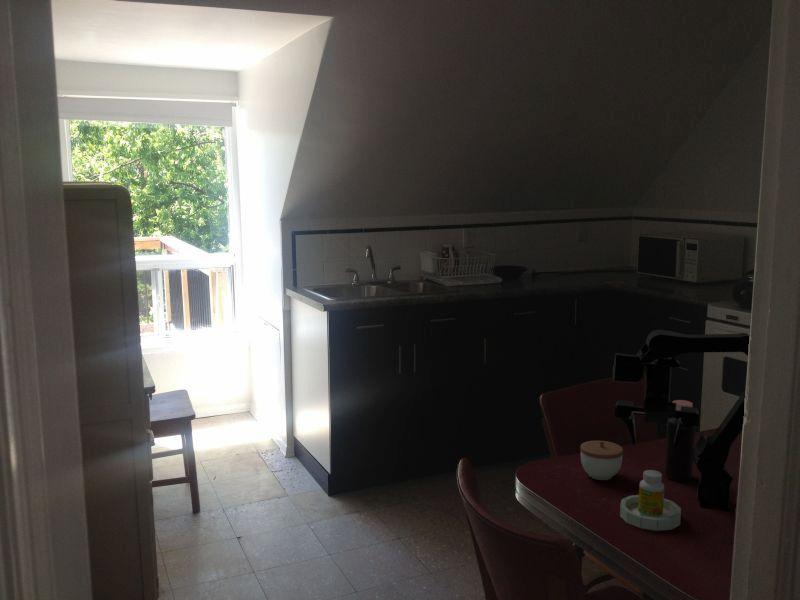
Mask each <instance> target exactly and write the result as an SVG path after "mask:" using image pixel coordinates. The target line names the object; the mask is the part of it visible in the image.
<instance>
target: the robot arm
mask: <svg viewBox="0 0 800 600" xmlns="http://www.w3.org/2000/svg"><path fill="white" fill-rule="evenodd" d="M749 335H750V334H749V333H747V332H741V333H723V334H722V333H721V334H720V333H715V334H712V333H711V334H708V333H705V334H703V333H702V334H687V333H679V332H676V331H672V330H665V329H654V330H652V331H651V332H650V333H649V334H647V337H646V341H645V343H644V345H642V347H641V348H640V349H639V350H637V352H636V354H627V353H622V352H620V353H618V352H616V353H615V355H614V361H613V364H612V379H613V380H612V382H615V383H632V384H638V383H639V382H641V381H642V380H643V379H644V374H645V380H644V381H645V383H644V398H643V406H640V405H639V406H638V405H634V401H631V400H622V399H621V400H620V399H619V400H617V401H616V402H615V405H614V417H615V418H619V420H620V421H621V422H624V423H625V424H626V426H627V429H628V432H629V434H630V435H629V436H630V439H631V442H632V444H633V446H635V445H636V421H635V415H639V416H640V415H641V416H644V421H645V422H646V423H658V424H660V425H661V424H662V425H665V424H667V421H668V419H669V418H670V419H671V418H679V420H678V425H677V430H676V435H675V440H674V450H676V448H677V445H678V443H679V441H680V439H681V436H682V435H683V433H684V431H685V430H686V429H687V428H692V425H695V427H696V426H699V423H700V422H699V420H700V413H699V410H698V408H697V407H684V406H681V411H680V410H676V403H672V402H673V401H672V402H670V401H671V386H672V385H671V383H672V368H681V367H682V365H681V363H680V361H679V360H677V359H676V357H679V356H682V355H685V354H691V353H699V354H700V353H744V354H745V355H746V356H747V357H748V344H749ZM644 368H645V372H644ZM744 398H745V389H744V390H743V391H742V393H741V395H740V396H739V397H738V399H737V400H736V402H735V403H734V404H733V406H732V408H731V409H730V410H729V412H728V413H727V415H725V417H724V419H723V420H722V421H721V423H720V425H719V426H718V427H717V429H716V430H715V431H714V433H712V434H711V435H709V436H708V437H707V436H706V435H704V434H701V435H700V437H699V439H698V441H697V442H696V443H695V444H694V446H693V449H694V451H693V463H694V464H695V465H696V468H697V470H698V471H699V473H700V479H698V481H697V492H696V493H697V494H696V499H697V501H698V503H699V507H705V508H712V509H720V510H725V511H726V510H730V502H729V501H730V491H731V489H730V488H731V484H732V482H733V480H734V478H733V476H732V475H731V473H730V471H729V469H728V467H727V466H726V464H727V463H726V462H727V461H728V459H729V454H730V451H731V447H732V445H733V444H734V443H735V441H736V439H737V438H738V437H739V435H740V434H741V433H742V431H743V430H742V424H743V416H744Z"/></svg>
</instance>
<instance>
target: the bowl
mask: <svg viewBox="0 0 800 600" xmlns="http://www.w3.org/2000/svg"><path fill="white" fill-rule="evenodd" d="M638 504H639V494H635V495H628V496H626V497H624V498H622V499H621V501H620V506H619V516H620V518H621V519H622V520H623V521H624V522H625V523H626V524H629V525H632V526H634V527H636V528H639V529H641V530H642V529H643V530H649V531H655V532H656V531H657V532H659V531H671V530H674V529H676V528H677V527H679V526H681V521H682V520H681V516H682V508H681V506H679V505H678V504H676V503H675V502H674V501H673V500H669V499H667V498H664V502H663V515H662V516H661V517H659V518H653V517H646V516H642V515H641V514H640V513H639V512H638Z"/></svg>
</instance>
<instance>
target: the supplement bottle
mask: <svg viewBox="0 0 800 600" xmlns="http://www.w3.org/2000/svg"><path fill="white" fill-rule="evenodd" d="M642 478H643V479H642V480H640V481H639V489H638V495H639V504H638V512H639V513H640V514H641V515H642V516H646V517H653V518H659V517H661V516H662V515H663V502H664V499H665V497H664V496H665V484H664V483H663V482H662V480H663V474H662V473H661V472H660V471H658V470H654V469H646V470H644V471H643V474H642Z"/></svg>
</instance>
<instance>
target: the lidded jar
mask: <svg viewBox="0 0 800 600" xmlns="http://www.w3.org/2000/svg"><path fill="white" fill-rule="evenodd" d="M579 448H580V461H581V465H582V467H583V470H584V471H585V472H586V473H587V474H588V477H590V478H591V477H592V478H591V479H593V478H594V480H597V481H609V479H610V480H612V479H613V478H612V477H615V476H616V474H618V473H619V471H620V469H621V467H622V463H623V455H624V448H623V447H622V446H621V445H619V444H617V443H614V442H612V441H607V440H590V441H589V440H588V441H584V442H583V443H581V444H580V447H579ZM611 478H612V479H611Z"/></svg>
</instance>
